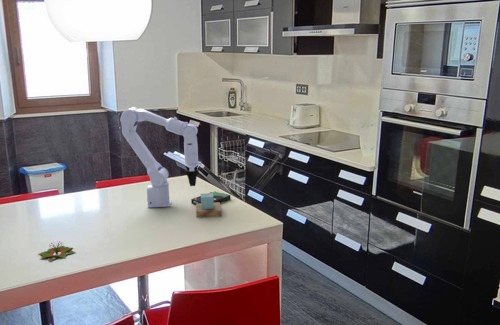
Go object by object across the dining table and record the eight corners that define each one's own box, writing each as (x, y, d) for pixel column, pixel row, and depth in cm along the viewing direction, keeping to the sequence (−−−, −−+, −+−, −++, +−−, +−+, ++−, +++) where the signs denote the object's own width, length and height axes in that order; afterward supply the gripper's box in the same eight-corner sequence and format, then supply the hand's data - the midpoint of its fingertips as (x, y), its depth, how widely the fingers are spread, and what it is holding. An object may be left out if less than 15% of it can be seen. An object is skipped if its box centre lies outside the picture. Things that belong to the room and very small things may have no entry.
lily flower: (65, 244, 161) (64, 232, 160) (83, 254, 153) (81, 241, 152) (31, 256, 152) (29, 243, 151) (47, 266, 145) (45, 253, 144)
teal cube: (201, 209, 186) (200, 197, 184) (201, 205, 190) (200, 193, 189) (213, 208, 186) (213, 196, 185) (213, 204, 191) (212, 193, 190)
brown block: (196, 218, 184) (196, 211, 183) (196, 210, 193) (196, 203, 193) (221, 217, 185) (221, 210, 184) (220, 208, 195) (219, 202, 194)
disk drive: (207, 209, 194) (231, 200, 205) (207, 203, 193) (230, 194, 204) (191, 205, 200) (214, 196, 212) (190, 199, 200) (214, 190, 211)
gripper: (201, 156, 188) (202, 187, 191) (200, 148, 202) (201, 178, 205) (183, 156, 187) (185, 188, 190) (184, 149, 201) (185, 179, 204)
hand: (192, 183), depth 198 cm, fingers open, 7 cm apart
